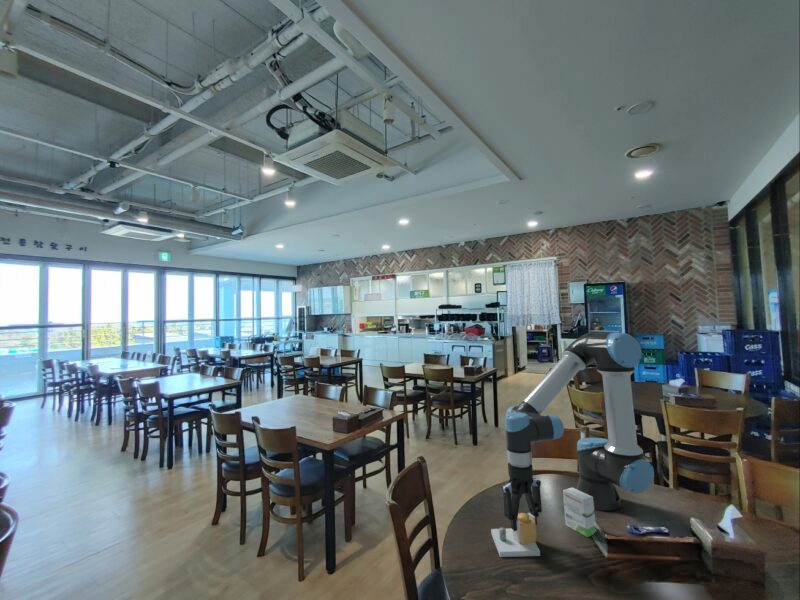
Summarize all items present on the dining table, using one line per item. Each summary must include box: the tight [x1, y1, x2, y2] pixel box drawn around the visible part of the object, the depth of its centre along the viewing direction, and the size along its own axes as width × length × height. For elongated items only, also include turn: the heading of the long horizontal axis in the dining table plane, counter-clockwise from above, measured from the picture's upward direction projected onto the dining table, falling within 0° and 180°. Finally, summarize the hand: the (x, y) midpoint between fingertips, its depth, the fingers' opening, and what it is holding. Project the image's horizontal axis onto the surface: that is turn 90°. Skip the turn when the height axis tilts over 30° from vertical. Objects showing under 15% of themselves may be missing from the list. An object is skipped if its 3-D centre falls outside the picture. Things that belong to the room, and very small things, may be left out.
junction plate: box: [490, 527, 541, 558], centre depth 114 cm, size 12×12×5 cm
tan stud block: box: [513, 512, 537, 545], centre depth 114 cm, size 5×5×7 cm
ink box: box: [562, 487, 596, 538], centre depth 120 cm, size 9×5×12 cm, turn 26°
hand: (525, 537), depth 114 cm, fingers open, 5 cm apart
